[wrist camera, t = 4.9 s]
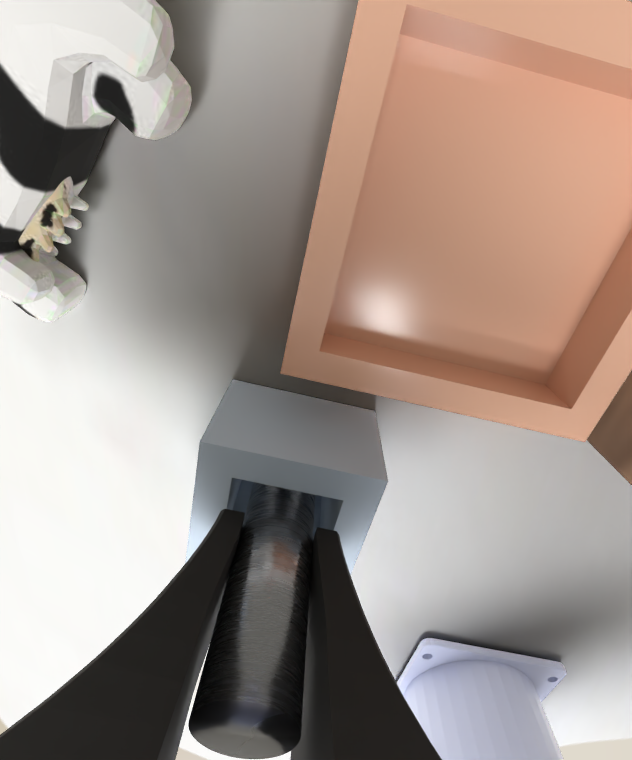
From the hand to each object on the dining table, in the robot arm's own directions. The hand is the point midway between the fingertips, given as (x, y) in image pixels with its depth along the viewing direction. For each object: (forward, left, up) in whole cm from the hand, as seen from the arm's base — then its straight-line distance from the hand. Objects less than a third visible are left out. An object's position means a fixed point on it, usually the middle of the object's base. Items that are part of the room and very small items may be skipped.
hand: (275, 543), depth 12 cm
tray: (+9, -4, -4) cm, 11 cm away
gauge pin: (0, 0, -2) cm, 2 cm away
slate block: (0, 0, -4) cm, 4 cm away
